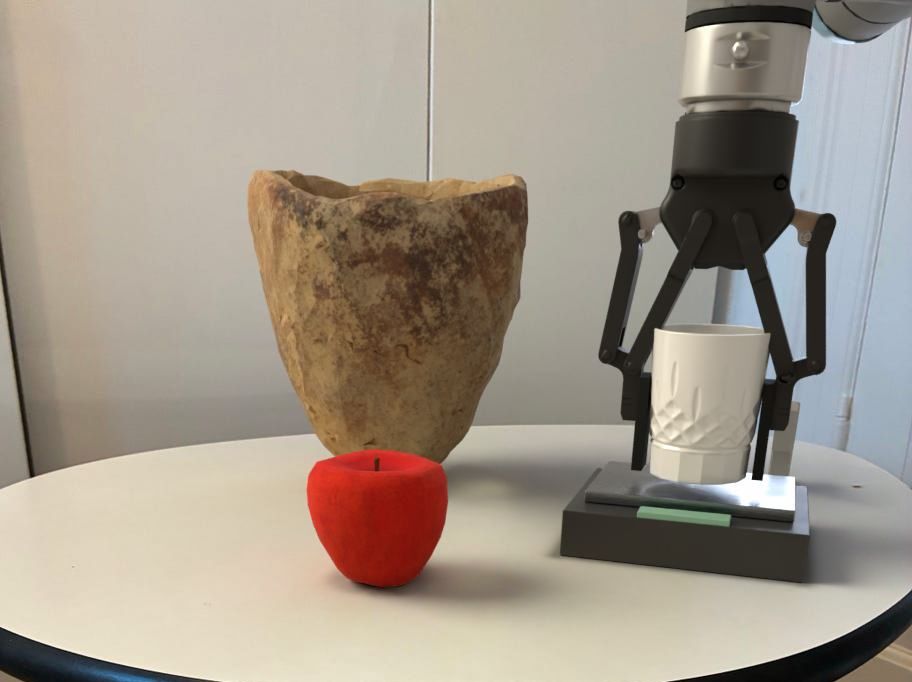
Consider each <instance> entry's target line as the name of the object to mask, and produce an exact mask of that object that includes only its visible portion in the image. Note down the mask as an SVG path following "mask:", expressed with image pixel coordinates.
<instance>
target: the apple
mask: <svg viewBox="0 0 912 682" xmlns="http://www.w3.org/2000/svg"><path fill="white" fill-rule="evenodd" d="M448 491H449V489H448V475H447V473H446V472H445V470H444V467H443V465H442V463H441V464H439V463H436V462H433V461H431V460H428V459H426V458H424V457H421V456H417V455H413V454H409V453H404V452H398V451H393V450H375V449H370V450H363V451H356V452H352V453H348V454H344V455H339V456H336V457H335V456H333V457H328V458H325V459H320V460H317V461H316V462H315V464H314V465H313V467H312V468H311V470H310V471H309V473H308V475H307V482H306V500H307V501H306V502H307V509H308V511H309V516H310V519H311V522H312V525H313V528H314V530H315V534H316V535H317V537H318V539H319V542H320V543H321V545H322V547H323V549H324V550H325V551H326V553H327V554H328V556H329V557H330V560H331V561H332V563H333V565H334V566H335V568H336V569H337V570H338V571H339V572H340V573H341V574H342V575H343V576H344V577H345V578H346V579H348V580H350V581H352V582H356V583H360V584H365V585H370V586H374V587H379V588H390V587H399V586H402V585H404V584H407V583H410V582H412V581H414V580H415V579H416V578H417V577H418V576H420V574H421V573H422V572H423V570H424V568H425V567H426V565H427V564H428V562H429V560H430V559H431V557H432V556H433V553H434V551H435V550H436V547H437V546H438V543H439V542H440V540H441V538H442V534H443V532H444V528H445V525H446V520H447V514H448V505H449V493H448Z"/></svg>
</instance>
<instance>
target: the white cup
mask: <svg viewBox="0 0 912 682" xmlns="http://www.w3.org/2000/svg"><path fill="white" fill-rule="evenodd" d="M770 335H771V334H770V333H764V329H763V327H758V326H749V325H739V324H725V323H724V324H723V323H722V324H720V323H666V324H665V326H664V328H663V330H661V329H657V328H655V329H654V343H653V348H652V352H651V370H650V372H651V388H650V395H651V403H650V427H649V437H651V438H650V448H649V450H650V451H649V468H650V473H651V474H652V475H654V476H656V477H658V478H660V479H664V480H668V481H673V482H678V483H686V484H697V485H723V484H730V483H737V482H739V481H741V480H743V479H745V478H746V474H747V473H748V468H749V463H750V456H751V451H752V450H751V449H752V445H751V444H752V442H753V440H754V438H755V435H756V433H757V432H756V431H757V427H758V426H757V425H758V422H759V416H760V411H761V403H762V396H763V388H764V382H765V379H767V373H768V366H769V361H770V357H771V355H770V351H769V348H768V346H769V340H770Z"/></svg>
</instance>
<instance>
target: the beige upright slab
mask: <svg viewBox="0 0 912 682" xmlns="http://www.w3.org/2000/svg"><path fill="white" fill-rule="evenodd" d="M800 411H801V403H800V402H799V401H793V400H792V403H791V410H790V417H789V424H788V426H787V427H786V429H785V431H774V430H773V436H772V437H773V438H772V444H771V451H770V452H771V453H770V459H769V465H768V473H767V475H777V476H788V477H790V473H791V472H790V471H791V465H792V458H793V453H794V448H795V442H796V441H795V440H796V436H797V429H798V423H799V416H800Z"/></svg>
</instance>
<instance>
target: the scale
mask: <svg viewBox="0 0 912 682" xmlns="http://www.w3.org/2000/svg"><path fill="white" fill-rule="evenodd" d="M603 468H604V467H603ZM603 468H602V467H598V468H596V470H594V472H593V473H592V474H591V475H590V477H589V478H588V479H587V480H586V481H585V483H584V484H583V485H582V487H581V488H580V489H579V490H578V491H577V493H576V494H575V495H574V496H573V498H572V499H571V500H570V501H569V502H568V503H567V505H566V506H565V508H564V509H562V514H561V515H562V516H561V532H560V542H559V543H560V545H559V556H566V557H576V558H585V559H593V560H601V561H610V562H619V563H627V564H636V565H646V566H653V567H654V566H655V567H663V568H672V569H678V570H679V569H681V570H690V571H696V572H697V571H698V572H705V573H706V572H707V573H716V574H723V575H732V576H733V575H734V576H740V577H750V578H760V579H767V580H768V579H769V580H776V581H787V582H793V583H803V582H804V576H805V568H806V562H807V557H808V550H809V546H810V539H811V529H810V528H811V527H810V526H811V525H810V510H809V509H810V508H809V489H808V486H806V485H796V484H795V499H796V512H795V518H794V522H786V521H776V520H766V519H756V518H746V517H735V516H731V515H727V514H717V513H706V512H696V511H686V510H676V509H665V508H655V507H645V506H641V507H634V506H624V505H613V504H603V503H593V502H585V501H584V500H585V491H586V490H587V488H588V487H589V486H590V485H591V483H592V482H593V481H594V480H595V478H596V477H597V476H598V475H599V473H600V472H601V471H602V469H603Z"/></svg>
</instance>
